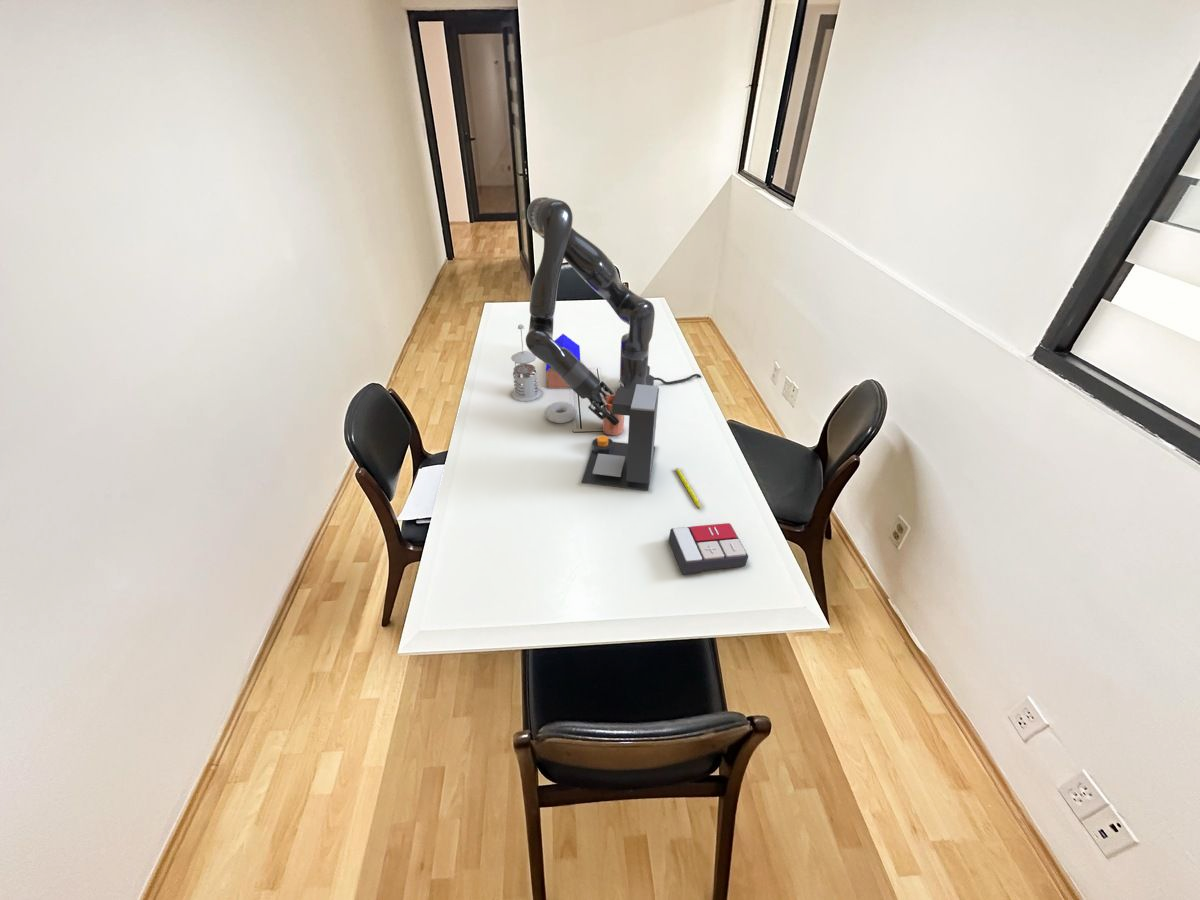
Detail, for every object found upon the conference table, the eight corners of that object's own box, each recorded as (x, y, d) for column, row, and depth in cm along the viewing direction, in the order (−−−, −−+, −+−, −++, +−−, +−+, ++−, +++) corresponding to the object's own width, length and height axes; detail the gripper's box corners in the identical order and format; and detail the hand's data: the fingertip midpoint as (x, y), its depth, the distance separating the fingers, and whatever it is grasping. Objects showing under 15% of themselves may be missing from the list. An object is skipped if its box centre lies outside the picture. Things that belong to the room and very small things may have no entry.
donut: (541, 423, 165) (572, 426, 163) (540, 414, 163) (571, 417, 161) (550, 407, 173) (579, 410, 171) (549, 398, 171) (579, 401, 169)
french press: (517, 403, 174) (511, 333, 160) (506, 388, 183) (498, 320, 168) (545, 397, 178) (541, 327, 163) (532, 382, 186) (527, 314, 172)
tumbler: (615, 421, 165) (616, 392, 159) (627, 430, 161) (629, 401, 154) (598, 427, 162) (598, 398, 156) (610, 437, 158) (611, 407, 152)
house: (546, 388, 183) (545, 357, 176) (548, 362, 199) (546, 333, 192) (581, 387, 184) (580, 357, 177) (579, 362, 200) (579, 333, 193)
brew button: (596, 446, 151) (596, 441, 150) (598, 440, 153) (598, 434, 152) (607, 447, 150) (607, 442, 149) (609, 441, 153) (609, 435, 152)
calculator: (750, 554, 115) (685, 561, 113) (745, 568, 118) (682, 574, 115) (730, 520, 124) (670, 525, 121) (727, 533, 127) (667, 539, 124)
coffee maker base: (581, 483, 141) (581, 475, 139) (594, 441, 157) (594, 434, 155) (648, 491, 138) (648, 483, 137) (655, 448, 154) (655, 440, 153)
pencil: (675, 471, 145) (675, 468, 145) (678, 470, 146) (679, 468, 145) (698, 510, 132) (699, 507, 132) (702, 510, 133) (703, 507, 132)
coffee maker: (591, 477, 139) (591, 403, 126) (599, 451, 149) (600, 380, 135) (648, 484, 137) (654, 409, 124) (653, 457, 147) (659, 385, 133)
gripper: (584, 383, 145) (624, 423, 151) (593, 360, 157) (631, 398, 162) (566, 398, 149) (606, 436, 155) (576, 374, 161) (613, 411, 166)
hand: (618, 417), depth 158 cm, fingers closed on tumbler, 6 cm apart
